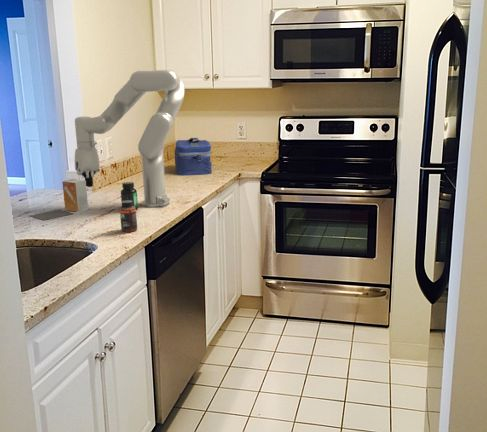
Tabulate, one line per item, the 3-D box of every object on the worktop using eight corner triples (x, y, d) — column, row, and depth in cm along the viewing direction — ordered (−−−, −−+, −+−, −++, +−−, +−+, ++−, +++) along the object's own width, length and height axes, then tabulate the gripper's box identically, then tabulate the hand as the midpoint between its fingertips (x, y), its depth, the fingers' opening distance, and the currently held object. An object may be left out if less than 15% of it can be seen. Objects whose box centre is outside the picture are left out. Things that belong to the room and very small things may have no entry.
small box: (64, 210, 246) (61, 181, 242) (75, 207, 251) (72, 178, 248) (78, 212, 242) (75, 182, 239) (88, 209, 247) (86, 180, 244)
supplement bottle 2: (138, 228, 214) (136, 199, 211) (136, 232, 208) (134, 202, 205) (122, 228, 214) (120, 199, 211) (120, 232, 208) (117, 203, 205)
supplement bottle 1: (140, 210, 242) (138, 183, 239) (124, 212, 239) (122, 185, 236) (135, 207, 248) (133, 180, 245) (120, 209, 244) (117, 182, 241)
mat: (73, 213, 239) (73, 213, 239) (43, 220, 229) (43, 219, 229) (59, 209, 247) (59, 209, 247) (29, 216, 237) (29, 215, 237)
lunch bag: (214, 175, 322) (213, 139, 317) (178, 177, 319) (176, 141, 313) (207, 166, 352) (206, 134, 347) (174, 168, 348) (172, 135, 343)
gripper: (95, 143, 253) (99, 182, 257) (65, 146, 242) (70, 188, 247) (105, 144, 248) (108, 184, 252) (75, 147, 237) (79, 190, 242)
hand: (89, 186), depth 250 cm, fingers closed
